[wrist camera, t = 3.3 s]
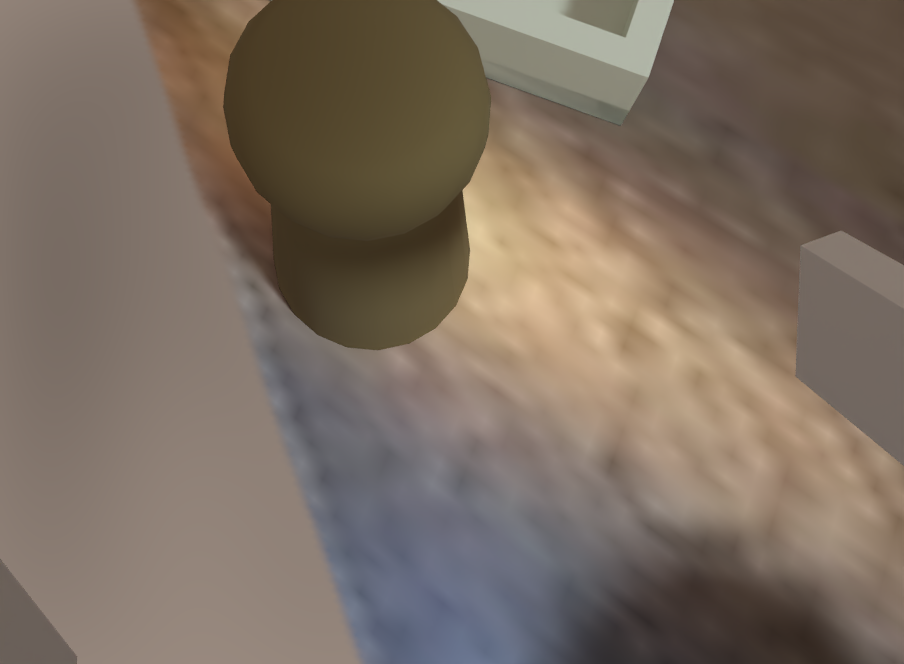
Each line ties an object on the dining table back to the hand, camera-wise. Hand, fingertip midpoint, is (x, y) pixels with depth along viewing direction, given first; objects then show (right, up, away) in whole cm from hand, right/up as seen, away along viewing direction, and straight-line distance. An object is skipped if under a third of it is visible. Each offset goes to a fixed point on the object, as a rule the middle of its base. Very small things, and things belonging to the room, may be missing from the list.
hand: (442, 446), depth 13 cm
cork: (-2, +4, +12) cm, 13 cm away
